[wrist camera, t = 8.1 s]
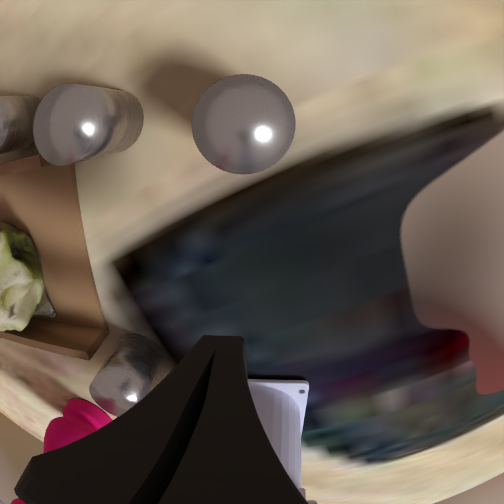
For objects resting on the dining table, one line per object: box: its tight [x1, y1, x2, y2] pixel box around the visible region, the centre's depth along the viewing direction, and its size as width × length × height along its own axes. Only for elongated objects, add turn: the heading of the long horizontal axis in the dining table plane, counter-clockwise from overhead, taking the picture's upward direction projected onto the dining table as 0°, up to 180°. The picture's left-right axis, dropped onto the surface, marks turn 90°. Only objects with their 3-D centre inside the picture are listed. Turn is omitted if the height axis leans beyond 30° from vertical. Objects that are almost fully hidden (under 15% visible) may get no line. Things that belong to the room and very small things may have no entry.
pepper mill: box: [11, 399, 112, 504], centre depth 19 cm, size 7×7×20 cm
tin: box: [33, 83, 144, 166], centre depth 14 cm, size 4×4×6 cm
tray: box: [0, 154, 109, 360], centre depth 19 cm, size 15×14×4 cm
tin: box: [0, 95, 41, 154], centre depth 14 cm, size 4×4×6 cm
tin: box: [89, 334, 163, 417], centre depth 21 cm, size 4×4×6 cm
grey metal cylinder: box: [192, 74, 295, 174], centre depth 14 cm, size 4×4×6 cm
